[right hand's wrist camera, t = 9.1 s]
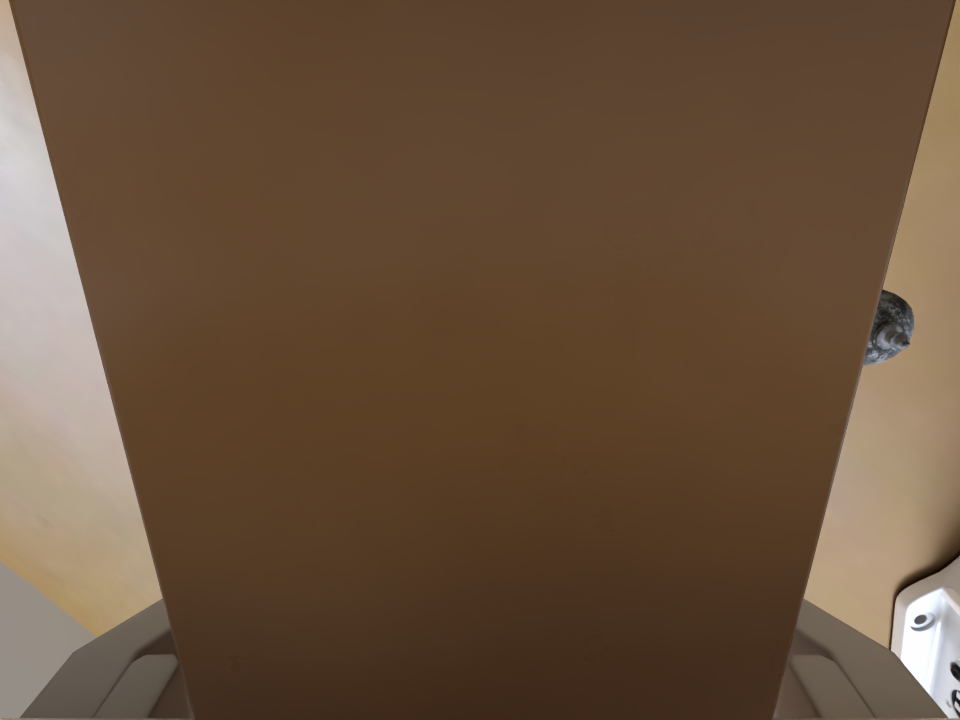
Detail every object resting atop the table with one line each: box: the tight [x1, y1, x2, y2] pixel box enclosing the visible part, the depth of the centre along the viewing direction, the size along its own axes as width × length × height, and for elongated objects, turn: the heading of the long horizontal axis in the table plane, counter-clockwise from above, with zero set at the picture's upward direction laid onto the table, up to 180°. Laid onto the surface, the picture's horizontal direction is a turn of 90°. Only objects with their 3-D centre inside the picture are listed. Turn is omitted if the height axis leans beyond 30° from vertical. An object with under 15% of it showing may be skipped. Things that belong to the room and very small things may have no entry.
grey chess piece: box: [863, 290, 914, 365], centre depth 25 cm, size 6×6×12 cm
